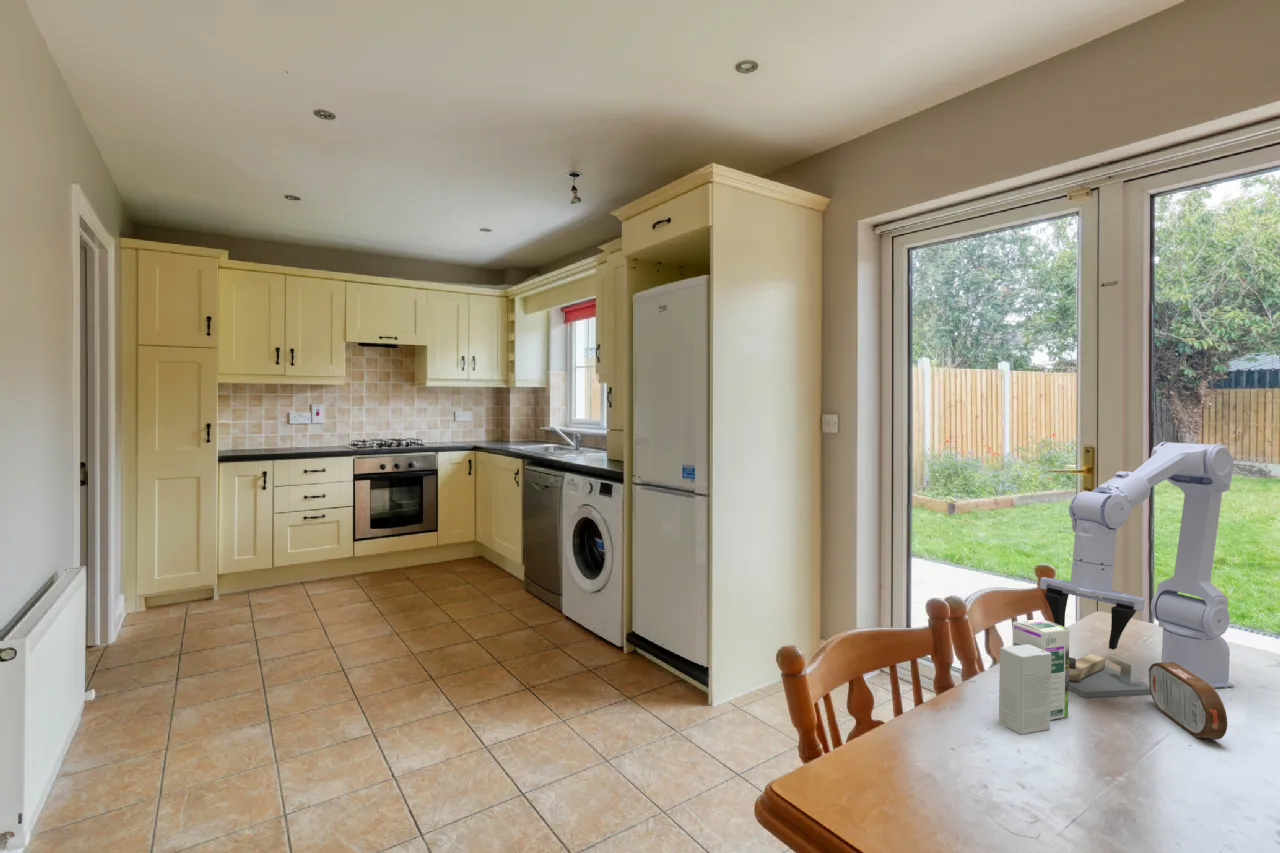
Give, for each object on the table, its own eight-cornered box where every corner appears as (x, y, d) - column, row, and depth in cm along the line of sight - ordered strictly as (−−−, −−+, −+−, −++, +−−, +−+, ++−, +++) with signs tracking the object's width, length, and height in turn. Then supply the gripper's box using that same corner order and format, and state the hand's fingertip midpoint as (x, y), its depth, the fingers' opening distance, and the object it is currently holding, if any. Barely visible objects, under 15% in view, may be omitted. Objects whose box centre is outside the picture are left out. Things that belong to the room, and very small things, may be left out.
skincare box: (1026, 717, 100) (1028, 643, 100) (1050, 730, 96) (1053, 653, 96) (996, 721, 98) (998, 646, 98) (1020, 735, 94) (1022, 657, 94)
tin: (1228, 750, 91) (1231, 693, 91) (1203, 747, 92) (1206, 691, 92) (1164, 703, 106) (1166, 654, 106) (1143, 701, 107) (1145, 652, 106)
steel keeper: (1114, 673, 116) (1115, 653, 116) (1140, 685, 111) (1141, 664, 111) (1104, 673, 116) (1105, 653, 115) (1130, 685, 110) (1131, 665, 110)
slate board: (1100, 668, 120) (1101, 663, 120) (1155, 694, 109) (1155, 688, 109) (1035, 671, 118) (1035, 666, 118) (1083, 697, 108) (1083, 691, 108)
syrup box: (1042, 723, 98) (1045, 631, 98) (1009, 706, 104) (1012, 619, 104) (1068, 718, 100) (1071, 628, 100) (1034, 701, 106) (1037, 616, 105)
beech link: (1076, 682, 111) (1076, 663, 111) (1057, 676, 113) (1058, 657, 113) (1106, 667, 117) (1107, 650, 117) (1088, 662, 120) (1089, 644, 120)
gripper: (1037, 554, 110) (1030, 631, 110) (1140, 573, 99) (1132, 659, 99) (1050, 552, 115) (1043, 625, 115) (1150, 570, 104) (1142, 652, 104)
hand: (1085, 640), depth 107 cm, fingers open, 7 cm apart
